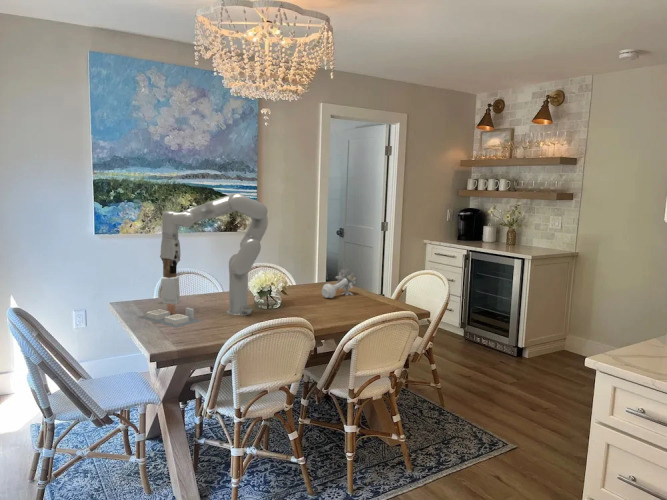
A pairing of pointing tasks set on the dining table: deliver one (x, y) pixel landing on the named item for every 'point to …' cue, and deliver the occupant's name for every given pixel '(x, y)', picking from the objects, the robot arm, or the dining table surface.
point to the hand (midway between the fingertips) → (169, 272)
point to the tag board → (168, 318)
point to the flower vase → (339, 284)
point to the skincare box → (170, 290)
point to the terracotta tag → (171, 308)
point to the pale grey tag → (190, 313)
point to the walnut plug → (167, 269)
